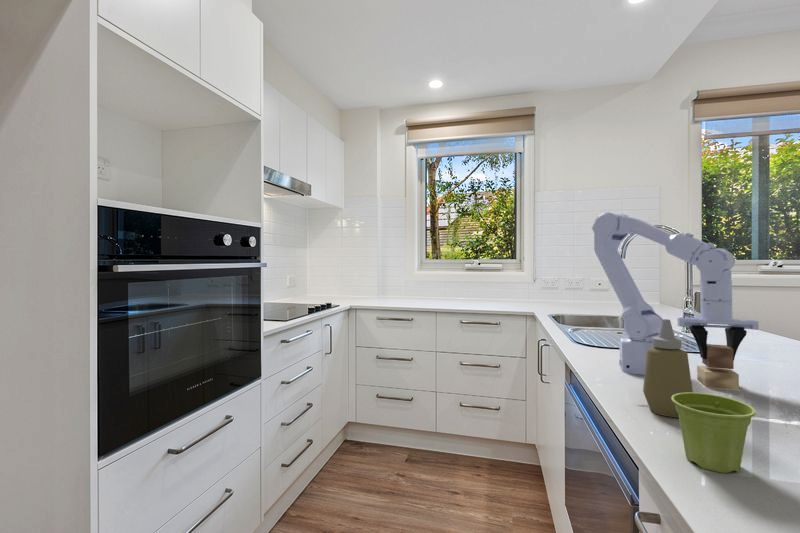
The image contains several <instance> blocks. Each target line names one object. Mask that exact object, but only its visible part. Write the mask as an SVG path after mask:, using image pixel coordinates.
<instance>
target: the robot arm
mask: <svg viewBox="0 0 800 533" xmlns="http://www.w3.org/2000/svg"><path fill="white" fill-rule="evenodd" d="M591 230H592V231H593V233H594V236H593V238H594V239H593V241H594V244H593V245H594V249H593V250H594V253H595V255H596V256H597V259H598V261H599V263H600V265H601V266H602V268H603V270H604V272H605V275H606V277H607V279H608V281H609V282H610V285H611V286H612V288H613V290H614V292H615V294H616V296H617V298H618V300H619V302H620V304H621V306H622V309H621V314H620V316H621V318H622V319H623V328H624V331H625V333H626V335H628V338H627V337H624V338H622V337H621V338H620V339H619V344H618V346H619V359H618V362H619V363H618V364H619V365H618V366H619V368H620V370H621V371H622V373H624V374H635V375H644V376H645V367H646V358H647V350H648V349H649V348H651V347H655V346H653V337H658V336H659V333H660V329H661V325H662V321H663V318H662V316H660V314H658V313H657V312H656V311H655V310H654V309H653V306H651V305H650V304H649V303H647V301H646V300H644V298H643V296H642V294H641V292H640V290H639V288H638V287H637V284H636V283H635V281H634V279H633V277H632V275H631V273H630V271H629V269H628V267H627V266H626V265H625V262H624V260H623V258H622V256H621V254H620V252H619V251H618V248H619V247H620V244H621V242H623V241H624V240H625V238H626V237H627V236H628V235H634V234H635V235H637V236H638V235H639V236H640V237H643V238H645V239H647V240H650V241H652V242H654V243H657V244H659V245H662V246H664V247H665V250H666V252H667V254H670V255H671V256H673V257H675V258H676V259H680V260H682V261H684V262H686V263H687V264H691V265H692V266H695V267H696V268H697V269H698V270H699V271H700V273H699V274H700V280H699V287H700V288H699V292H700V293H699V294H700V295H699V297H700V299H699V300H700V302H699V303H700V305H699V306H700V317H677V318H676V319H677V320H676V321H677V326H678V327H681V328H682V327H683V328H685V327H688V329H689V331H690V333H691V335H692V336H693V338H694V341H695V342H696V345H697V348H698V351H699V356H700V358H701V359H702V358H703V359H706V358H707V344H708V343H707V342H708V333H709V331H708V330H706V328H715V329H716V328H720V329H724V333H725V337H726V339H725V340H726V346H728V347H730V348H732V349H733V359H734V360H735V357H736V354H737V352H738V349H739V347H740V344H741V343H742V341H743V340H744V339H745V337H746V336H747V333H748V331H747V330H757V331H759V329H760V328H759V320H755V319H739V318H733V281H732V270H731V269H733V267H734V266H735V263H736V258H735V257H734V255H733V253H732V252H730V251H728V250H727V249H726V248H722V247H717V248H715V244H714V243H712V242H705V241H702V240H699V239H698V238H695V237H694V234H692V233H691V232H686V233H683V232H678V233H676V234H672V233H670V232H668V231H666V230H663V229H661V228H659V227H658V226H656V225H653V224H651V223H649V222H647V221H644V220H642V219H640V218H637V217H633V216H629V215H627V214H622V213H621V214H619V213H612V212H609V211H608V212H607V211H605V212H603V213H600V214H599V215H597V217H596V219H595V220H594V223H593V224H592V226H591Z"/></svg>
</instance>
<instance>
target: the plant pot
mask: <svg viewBox="0 0 800 533" xmlns="http://www.w3.org/2000/svg"><path fill="white" fill-rule="evenodd" d="M671 400H672V402H673V403H674V404H675V407H676V411H677V412H678V415H679V417H678V418H679V425H680V430H681V436H682V441H683V442H682V443H683V447H684V452H685V453H684V454H685V457H686V458H687V460H688V461H689V462H694V463H695V464H697V465H698V466H699V467H701V468H702V469H705V470H708V471H712V472H717V473H722V474H723V473H724V474H729V473H731V472H734V471H735V472H739V471H740V470H741V465H742V461H743V460H742V459H743V454H744V449H745V448H744V447H745V443H746V438H747V432H748V427H749V426H750V425H751V422H752V418H753V417H755V416H756V415H757V414H756V413H757V411H756V409H755V408H754V407H753V406H751V405H750V404H747V402H743V401H740V400H738V399H734V398H731V397H727V396H723V395H722V396H721V395H717V394H711V393H705V392H704V393H703V392H702V393H701V392H693V393H690V392H686V393H677V394H674V395H672V397H671Z"/></svg>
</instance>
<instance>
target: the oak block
mask: <svg viewBox="0 0 800 533" xmlns="http://www.w3.org/2000/svg"><path fill="white" fill-rule="evenodd" d="M739 376H740V374H738V373H737V372H736V371H734V369H724V368H711V367H708V366H706V365H696V379H697V380H698V381H699V382H700V383H701V384H703V385H704V386H705V387H710V388H709V389H714V388H720V389H719V390H725V389H731V390H730V391H736V390H739V389H740V377H739ZM699 382H698V383H699ZM700 383H699V384H700ZM701 384H700V385H701Z"/></svg>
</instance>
